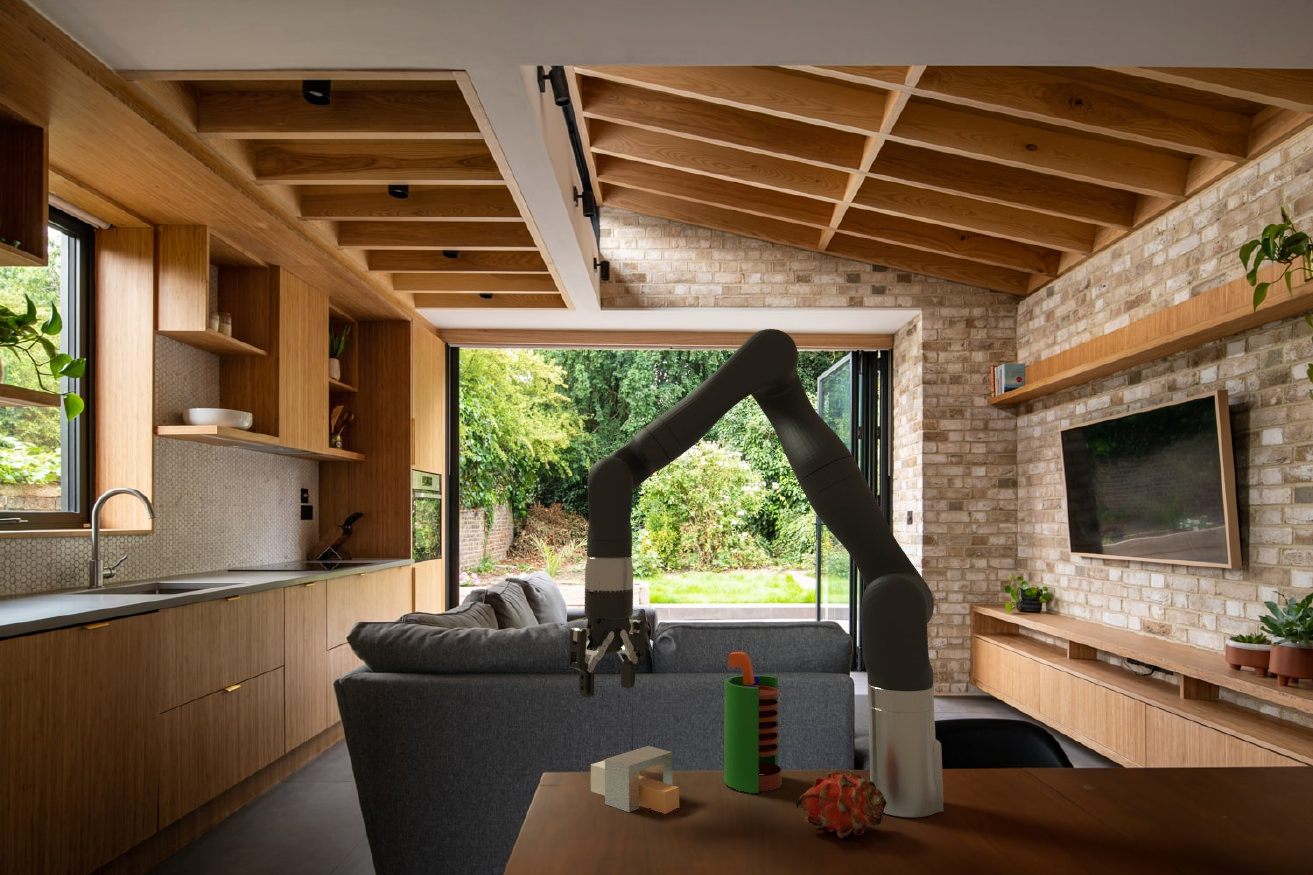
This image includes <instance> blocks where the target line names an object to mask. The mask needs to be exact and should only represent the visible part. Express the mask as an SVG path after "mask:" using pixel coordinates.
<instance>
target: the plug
mask: <svg viewBox="0 0 1313 875" xmlns="http://www.w3.org/2000/svg"><path fill="white" fill-rule="evenodd" d="M590 792H592V793H594V794H598V795H602V796H604V797H605V759H604V760H601V761H599V762H595V763H591V764H590ZM640 806H641V807H643V808H645V809H649V808H651V809H650V810H652V811H655V812H659V813H661V812H662V813H661V814H665V815H666V814H668V812H669V813H671V812H673V811H672V810H674V809H676V808H679V809H680V787H679V786H676V785H673V784H672V785H670V784H667V783H663V782H660V781H656V780H653V779H650V778H646V777H643V776H639V807H640ZM676 810H677V809H676ZM670 811H671V812H670ZM674 811H675V810H674Z"/></svg>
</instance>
